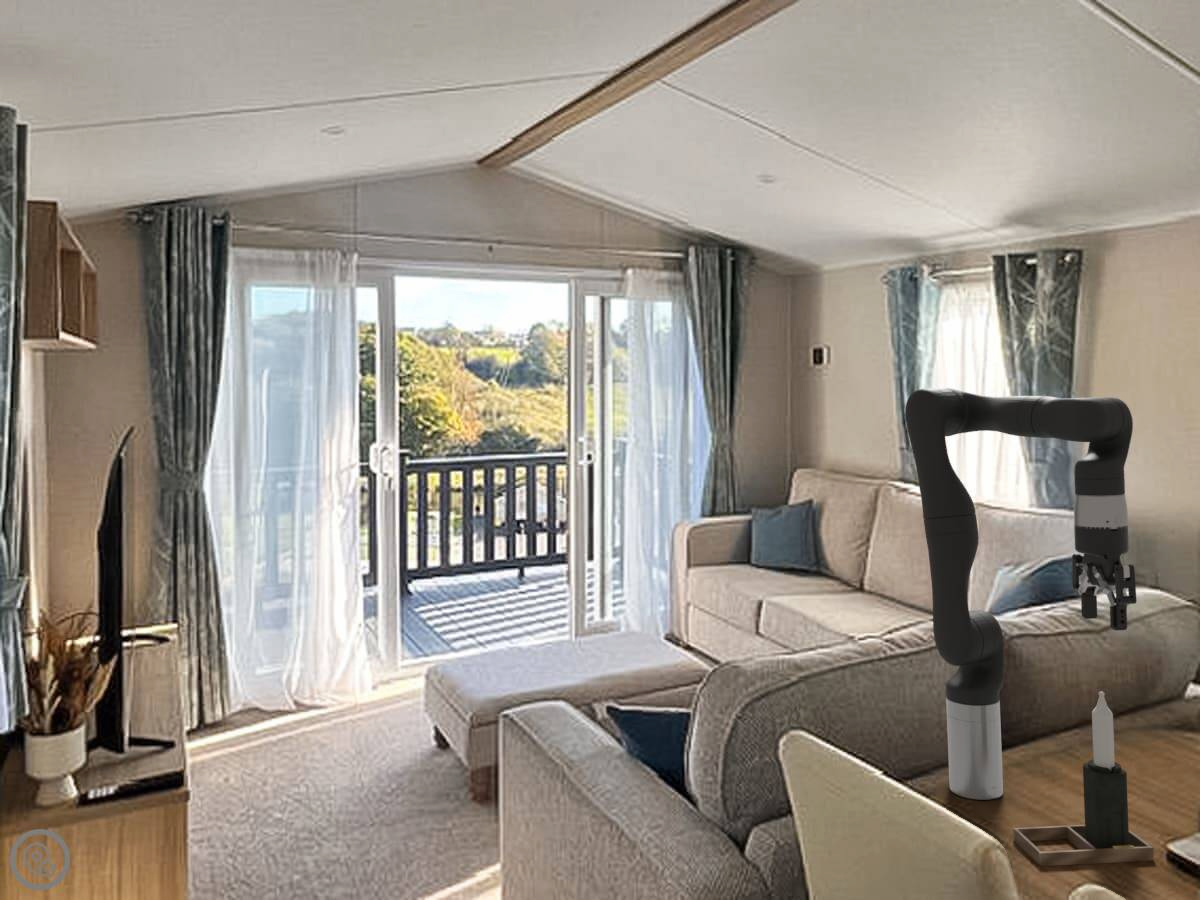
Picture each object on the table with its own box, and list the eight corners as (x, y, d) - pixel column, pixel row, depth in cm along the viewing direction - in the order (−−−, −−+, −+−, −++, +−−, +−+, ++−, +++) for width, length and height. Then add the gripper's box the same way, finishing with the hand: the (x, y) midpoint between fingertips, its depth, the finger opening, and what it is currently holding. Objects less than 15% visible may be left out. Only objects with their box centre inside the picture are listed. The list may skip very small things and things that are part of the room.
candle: (1114, 840, 149) (1108, 686, 148) (1132, 854, 143) (1126, 695, 143) (1082, 841, 149) (1076, 687, 148) (1100, 856, 143) (1094, 697, 143)
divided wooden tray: (1040, 866, 141) (1040, 851, 141) (1013, 840, 150) (1013, 826, 150) (1154, 860, 141) (1153, 845, 141) (1120, 834, 150) (1119, 820, 150)
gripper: (1054, 519, 153) (1058, 616, 154) (1101, 528, 139) (1104, 635, 140) (1099, 517, 153) (1102, 614, 154) (1151, 526, 139) (1154, 632, 140)
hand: (1103, 623), depth 147 cm, fingers open, 8 cm apart
